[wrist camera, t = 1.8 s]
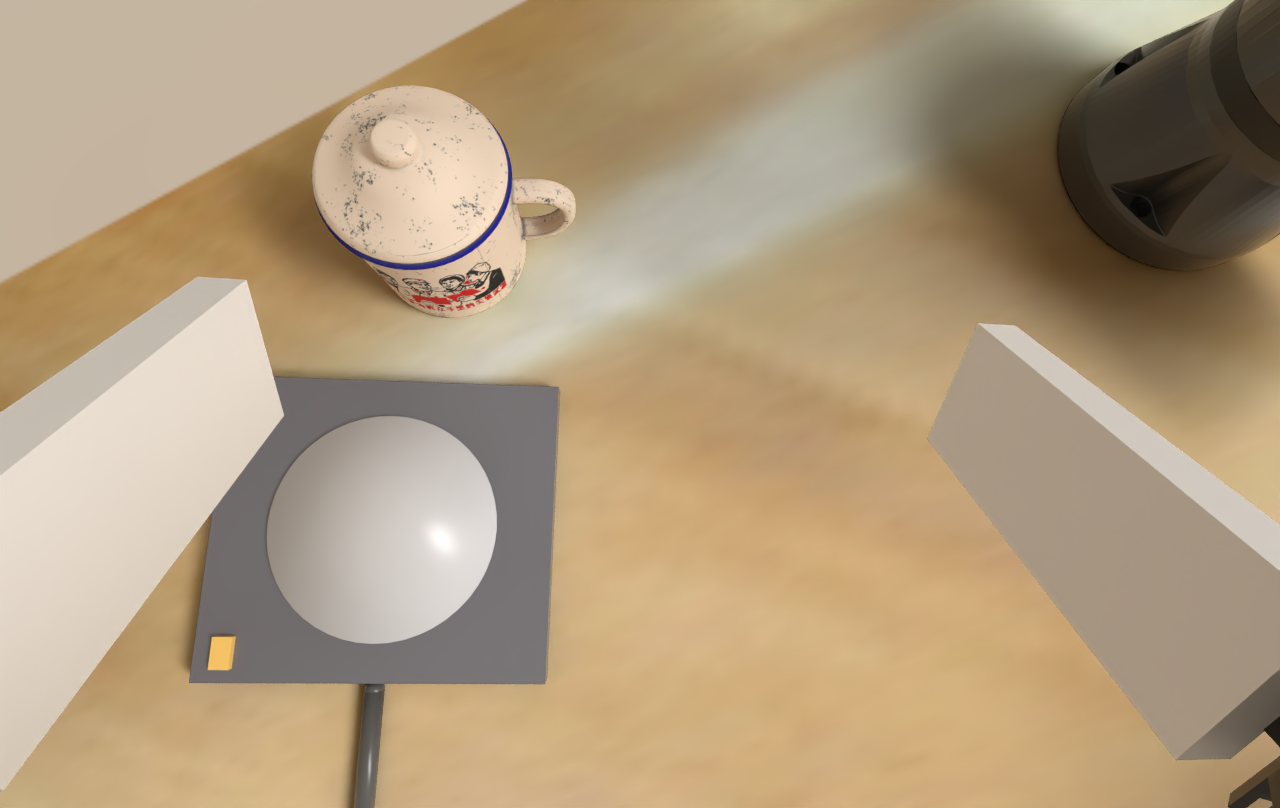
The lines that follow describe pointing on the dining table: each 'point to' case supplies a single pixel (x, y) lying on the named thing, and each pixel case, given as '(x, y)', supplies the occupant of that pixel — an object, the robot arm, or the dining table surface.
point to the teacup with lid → (431, 198)
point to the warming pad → (386, 544)
